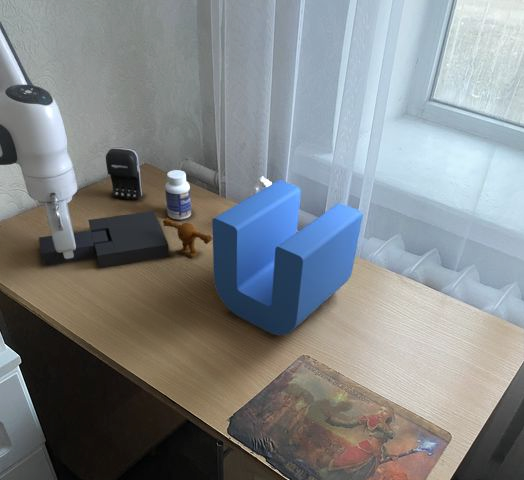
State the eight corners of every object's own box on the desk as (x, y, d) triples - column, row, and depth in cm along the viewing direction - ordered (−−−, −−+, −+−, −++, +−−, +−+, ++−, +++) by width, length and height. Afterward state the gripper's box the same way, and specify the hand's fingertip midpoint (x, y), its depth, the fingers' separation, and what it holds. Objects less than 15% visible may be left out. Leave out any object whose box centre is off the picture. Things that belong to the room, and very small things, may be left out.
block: (214, 303, 99) (212, 216, 87) (272, 261, 110) (277, 178, 98) (293, 345, 92) (303, 257, 80) (347, 296, 103) (363, 211, 90)
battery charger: (110, 200, 126) (101, 152, 118) (115, 192, 128) (107, 145, 120) (139, 203, 125) (132, 155, 117) (143, 195, 128) (138, 148, 120)
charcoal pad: (44, 266, 106) (40, 253, 104) (42, 249, 110) (38, 237, 108) (111, 255, 109) (108, 242, 107) (106, 240, 113) (104, 227, 111)
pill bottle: (184, 222, 120) (181, 181, 113) (163, 217, 121) (159, 176, 114) (195, 211, 123) (193, 171, 117) (174, 206, 125) (171, 166, 118)
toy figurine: (160, 247, 112) (157, 218, 107) (172, 240, 114) (169, 211, 110) (205, 268, 107) (204, 238, 103) (216, 259, 110) (216, 230, 105)
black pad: (99, 268, 106) (97, 255, 104) (90, 232, 115) (88, 219, 113) (169, 256, 110) (168, 244, 108) (155, 222, 119) (154, 210, 117)
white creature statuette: (230, 224, 120) (229, 173, 112) (262, 214, 123) (264, 165, 115) (252, 244, 114) (254, 192, 106) (285, 234, 118) (289, 183, 110)
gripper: (74, 207, 92) (89, 272, 102) (63, 157, 106) (77, 219, 116) (36, 212, 91) (55, 278, 100) (30, 161, 104) (47, 223, 114)
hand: (67, 246), depth 108 cm, fingers closed on charcoal pad, 6 cm apart
